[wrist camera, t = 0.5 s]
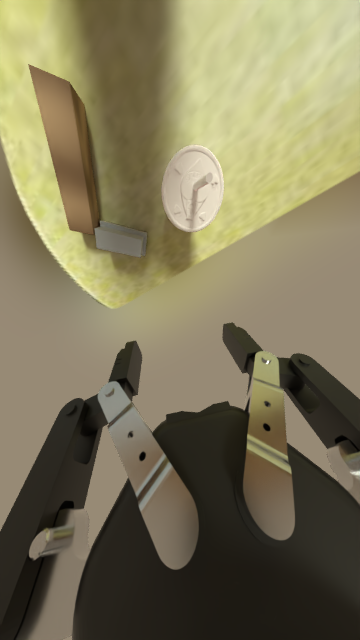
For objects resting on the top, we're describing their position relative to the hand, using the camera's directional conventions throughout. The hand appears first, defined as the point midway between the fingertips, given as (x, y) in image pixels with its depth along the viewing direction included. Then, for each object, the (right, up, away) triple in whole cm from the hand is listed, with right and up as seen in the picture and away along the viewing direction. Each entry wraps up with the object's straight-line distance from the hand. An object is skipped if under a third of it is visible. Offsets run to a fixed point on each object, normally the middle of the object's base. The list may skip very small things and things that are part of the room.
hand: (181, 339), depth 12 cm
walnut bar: (-13, +21, +6) cm, 26 cm away
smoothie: (0, +20, +9) cm, 22 cm away
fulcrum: (-10, +16, +11) cm, 21 cm away
